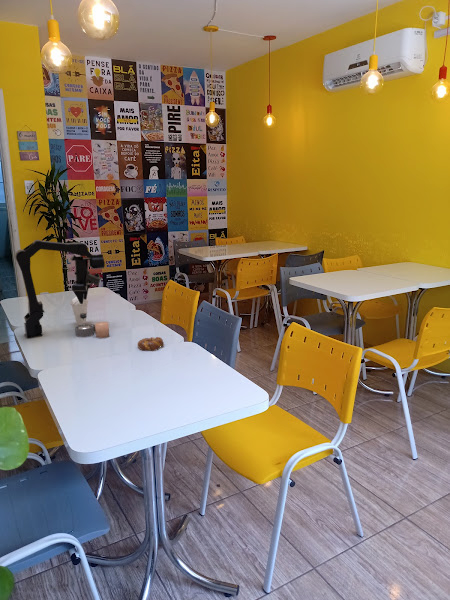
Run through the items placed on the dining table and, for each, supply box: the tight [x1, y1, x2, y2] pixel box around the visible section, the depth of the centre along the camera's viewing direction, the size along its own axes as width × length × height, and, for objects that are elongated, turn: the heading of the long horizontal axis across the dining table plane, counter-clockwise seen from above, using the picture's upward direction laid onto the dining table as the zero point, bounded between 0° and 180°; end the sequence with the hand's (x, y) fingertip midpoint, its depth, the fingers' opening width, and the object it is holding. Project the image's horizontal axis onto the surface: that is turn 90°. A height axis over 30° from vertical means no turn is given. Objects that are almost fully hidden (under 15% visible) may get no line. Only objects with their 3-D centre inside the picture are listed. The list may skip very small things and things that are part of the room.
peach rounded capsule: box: [94, 321, 110, 339], centre depth 205 cm, size 6×6×6 cm
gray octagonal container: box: [74, 324, 96, 338], centre depth 208 cm, size 10×8×4 cm
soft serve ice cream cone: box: [70, 296, 89, 326], centre depth 223 cm, size 8×8×16 cm
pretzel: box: [137, 336, 164, 351], centre depth 192 cm, size 12×11×4 cm
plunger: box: [78, 313, 91, 329], centre depth 207 cm, size 6×6×7 cm
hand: (83, 301), depth 214 cm, fingers open, 9 cm apart
